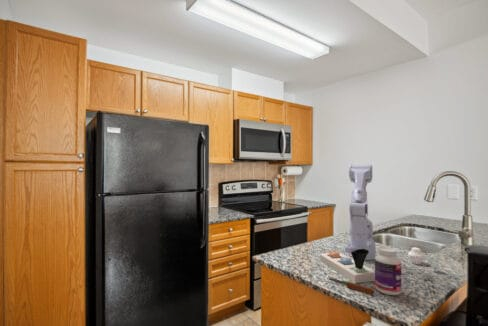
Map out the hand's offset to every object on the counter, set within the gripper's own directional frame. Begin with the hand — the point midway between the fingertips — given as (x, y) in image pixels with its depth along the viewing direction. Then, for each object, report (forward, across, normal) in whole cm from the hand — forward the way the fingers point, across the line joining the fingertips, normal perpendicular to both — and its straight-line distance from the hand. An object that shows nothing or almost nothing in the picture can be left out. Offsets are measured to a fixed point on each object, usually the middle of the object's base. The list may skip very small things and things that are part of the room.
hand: (359, 268), depth 100 cm
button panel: (+3, -3, -8) cm, 9 cm away
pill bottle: (+4, +2, +12) cm, 13 cm away
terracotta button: (+2, -5, -15) cm, 16 cm away
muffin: (+4, -35, +5) cm, 36 cm away
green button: (+2, 0, 0) cm, 2 cm away
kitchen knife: (+4, +11, +3) cm, 12 cm away
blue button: (+2, -3, -8) cm, 8 cm away
